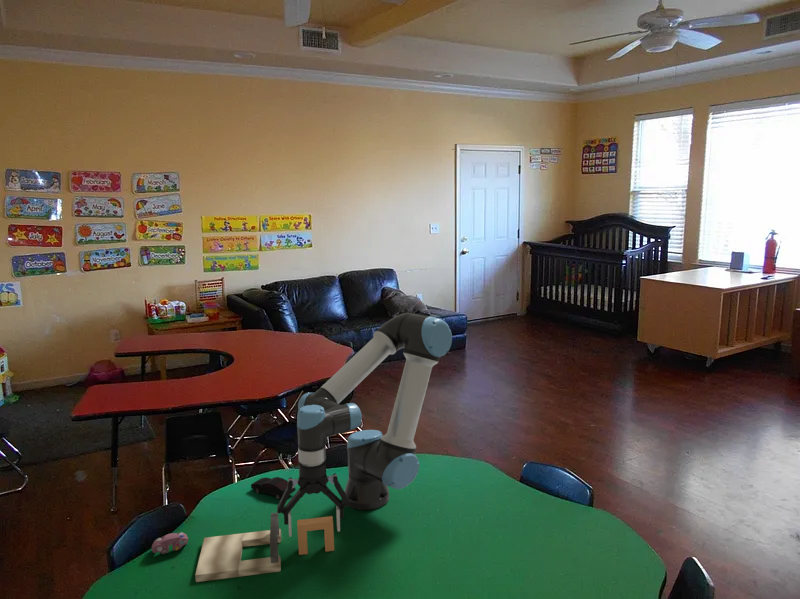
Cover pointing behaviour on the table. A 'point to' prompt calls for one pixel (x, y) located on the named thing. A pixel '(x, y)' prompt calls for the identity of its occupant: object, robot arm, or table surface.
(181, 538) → the video game controller
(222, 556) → the wooden base with post
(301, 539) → the tan wooden arch
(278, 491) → the toy car
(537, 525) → the table surface
